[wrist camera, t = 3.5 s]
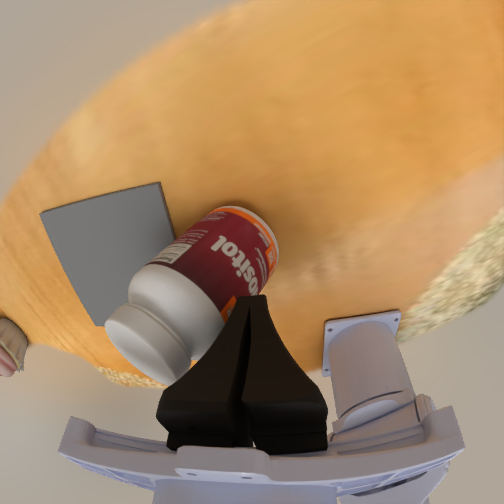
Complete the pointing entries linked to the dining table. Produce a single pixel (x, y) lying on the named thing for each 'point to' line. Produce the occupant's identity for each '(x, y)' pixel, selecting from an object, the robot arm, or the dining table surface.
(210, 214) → the pill bottle
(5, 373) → the cupcake
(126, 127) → the dining table surface
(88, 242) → the mat
